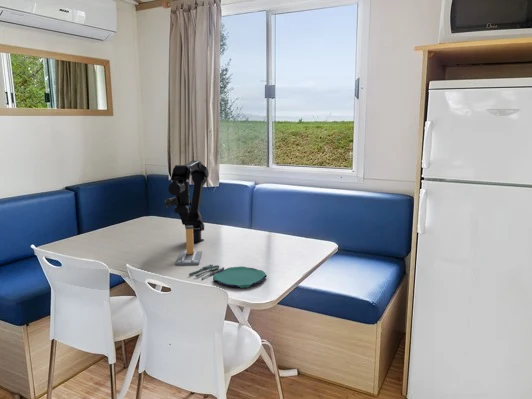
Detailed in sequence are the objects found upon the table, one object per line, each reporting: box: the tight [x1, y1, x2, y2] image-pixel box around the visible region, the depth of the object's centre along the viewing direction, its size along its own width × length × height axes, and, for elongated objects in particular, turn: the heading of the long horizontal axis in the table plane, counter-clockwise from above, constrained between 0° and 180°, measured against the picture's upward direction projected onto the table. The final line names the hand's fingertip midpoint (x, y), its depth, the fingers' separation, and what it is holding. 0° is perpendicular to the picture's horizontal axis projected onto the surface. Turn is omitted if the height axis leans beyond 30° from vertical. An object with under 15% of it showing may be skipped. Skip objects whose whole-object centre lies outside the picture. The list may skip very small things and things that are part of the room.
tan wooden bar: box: [185, 226, 195, 254], centre depth 189 cm, size 2×3×13 cm
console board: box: [175, 249, 203, 266], centre depth 186 cm, size 16×10×2 cm, turn 4°
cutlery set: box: [188, 264, 267, 289], centre depth 165 cm, size 20×30×2 cm, turn 59°
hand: (184, 223), depth 197 cm, fingers open, 3 cm apart
